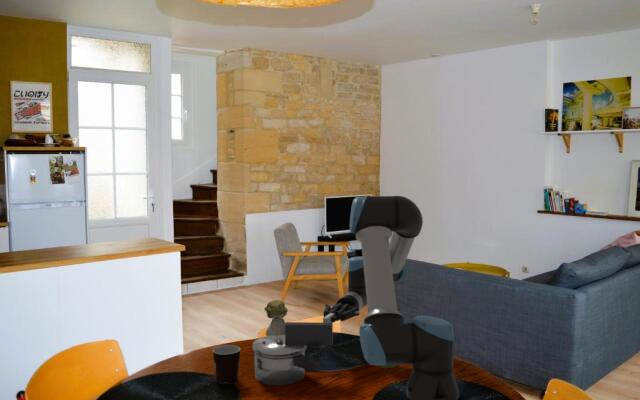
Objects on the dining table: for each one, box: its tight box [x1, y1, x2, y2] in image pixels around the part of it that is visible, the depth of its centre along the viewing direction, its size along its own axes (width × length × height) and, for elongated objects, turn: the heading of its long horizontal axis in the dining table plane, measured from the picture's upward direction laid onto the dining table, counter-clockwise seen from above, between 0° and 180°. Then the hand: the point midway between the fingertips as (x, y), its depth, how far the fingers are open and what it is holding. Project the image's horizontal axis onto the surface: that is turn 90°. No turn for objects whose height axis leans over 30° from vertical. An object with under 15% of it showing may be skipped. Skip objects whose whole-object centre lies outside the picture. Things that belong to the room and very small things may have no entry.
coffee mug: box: [212, 344, 241, 384], centre depth 186 cm, size 12×9×10 cm
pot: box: [253, 349, 323, 386], centre depth 187 cm, size 28×17×9 cm, turn 48°
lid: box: [252, 321, 334, 356], centre depth 188 cm, size 26×17×8 cm
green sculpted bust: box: [264, 299, 289, 337], centre depth 212 cm, size 14×20×16 cm
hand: (325, 322), depth 192 cm, fingers closed
